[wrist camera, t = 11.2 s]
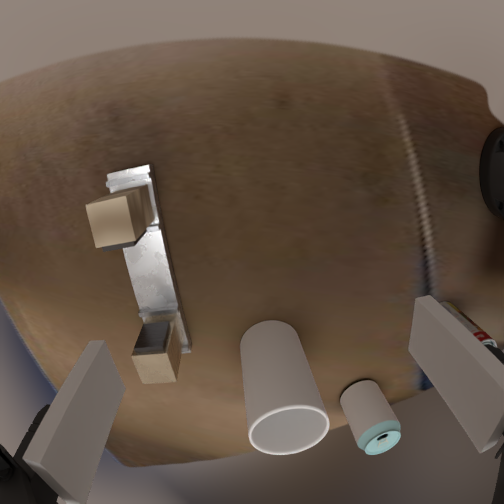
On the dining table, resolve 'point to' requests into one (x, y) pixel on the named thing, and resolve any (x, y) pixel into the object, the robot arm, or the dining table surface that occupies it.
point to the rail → (154, 289)
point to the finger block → (120, 218)
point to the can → (370, 417)
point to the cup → (280, 391)
